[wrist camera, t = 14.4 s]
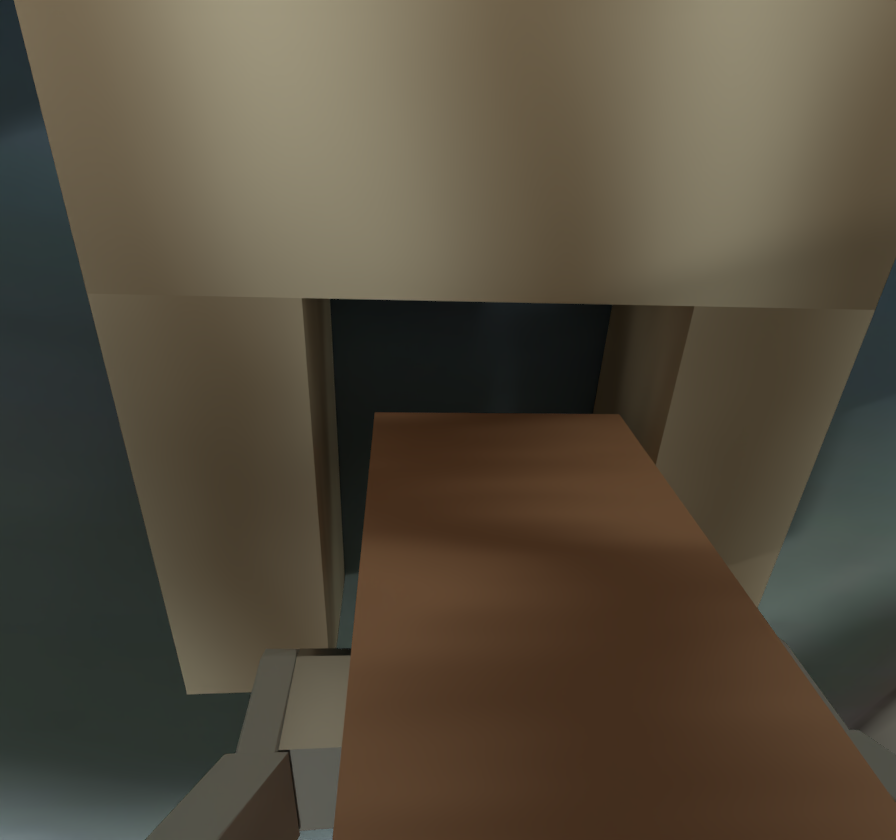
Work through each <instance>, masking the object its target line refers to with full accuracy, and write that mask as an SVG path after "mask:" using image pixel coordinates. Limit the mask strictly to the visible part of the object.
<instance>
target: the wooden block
mask: <svg viewBox="0 0 896 840" xmlns="http://www.w3.org/2000/svg"><path fill="white" fill-rule="evenodd" d="M333 840H896V802H895V801H894V799H893V798H892V797H891V795H890V794H889V792H888V791H887V790H886V788H885V787H884V785H883V784H882V783H881V781H880V780H879V778H878V777H877V776H876V774H875V773H874V771H873V770H872V769H871V767H870V766H869V764H868V763H867V762H866V760H865V759H864V757H863V756H862V755H861V753H860V752H859V750H858V749H857V748H856V746H855V745H854V743H853V742H852V740H851V739H850V738H849V736H848V735H847V733H846V732H845V731H844V729H843V728H842V726H841V725H840V724H839V722H838V721H837V719H836V718H835V717H834V715H833V714H832V712H831V711H830V710H829V708H828V707H827V705H826V704H825V703H824V701H823V700H822V698H821V697H820V696H819V694H818V693H817V691H816V690H815V689H814V687H813V686H812V684H811V683H810V681H809V680H808V679H807V677H806V676H805V674H804V673H803V672H802V670H801V669H800V667H799V666H798V665H797V663H796V662H795V660H794V659H793V658H792V656H791V655H790V653H789V652H788V651H787V649H786V648H785V646H784V645H783V644H782V642H781V641H780V639H779V638H778V637H777V635H776V634H775V632H774V631H773V630H772V628H771V627H770V625H769V624H768V623H767V621H766V620H765V618H764V617H763V615H762V614H761V613H760V611H759V610H758V608H757V607H756V606H755V604H754V603H753V601H752V600H751V599H750V597H749V596H748V594H747V593H746V592H745V590H744V589H743V587H742V586H741V585H740V583H739V582H738V580H737V579H736V578H735V576H734V575H733V573H732V572H731V571H730V569H729V568H728V566H727V565H726V564H725V562H724V561H723V559H722V558H721V556H720V555H719V554H718V552H717V551H716V549H715V548H714V547H713V545H712V544H711V542H710V541H709V540H708V538H707V537H706V535H705V534H704V533H703V531H702V530H701V528H700V527H699V526H698V524H697V523H696V521H695V520H694V519H693V517H692V516H691V514H690V513H689V512H688V510H687V509H686V507H685V506H684V505H683V503H682V502H681V500H680V499H679V497H678V496H677V495H676V493H675V492H674V490H673V489H672V488H671V486H670V485H669V483H668V482H667V481H666V479H665V478H664V476H663V475H662V474H661V472H660V471H659V469H658V468H657V467H656V465H655V464H654V462H653V461H652V460H651V458H650V457H649V455H648V454H647V453H646V451H645V450H644V448H643V447H642V446H641V444H640V443H639V441H638V440H637V438H636V437H635V436H634V434H633V433H632V431H631V430H630V429H629V427H628V426H627V424H626V423H625V422H624V420H623V419H622V417H621V416H620V415H619V414H532V413H402V412H375V415H374V425H373V435H372V445H371V455H370V465H369V475H368V485H367V496H366V506H365V516H364V526H363V536H362V546H361V556H360V566H359V577H358V587H357V597H356V607H355V617H354V627H353V637H352V647H351V658H350V668H349V678H348V688H347V698H346V708H345V718H344V728H343V739H342V749H341V759H340V769H339V779H338V789H337V799H336V809H335V820H334V830H333Z"/></svg>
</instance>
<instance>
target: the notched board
mask: <svg viewBox="0 0 896 840" xmlns="http://www.w3.org/2000/svg"><path fill="white" fill-rule="evenodd" d="M14 3H15V7H16V11H17V15H18V19H19V23H20V27H21V31H22V35H23V39H24V43H25V47H26V51H27V55H28V59H29V63H30V67H31V71H32V75H33V79H34V83H35V87H36V91H37V95H38V99H39V103H40V107H41V111H42V115H43V119H44V123H45V127H46V131H47V135H48V139H49V143H50V147H51V151H52V155H53V159H54V163H55V167H56V171H57V175H58V179H59V183H60V187H61V191H62V195H63V199H64V203H65V207H66V211H67V215H68V219H69V223H70V227H71V231H72V235H73V239H74V243H75V247H76V251H77V255H78V259H79V263H80V267H81V271H82V275H83V279H84V283H85V287H86V291H87V295H88V299H89V303H90V307H91V311H92V315H93V319H94V323H95V327H96V331H97V335H98V339H99V343H100V347H101V351H102V355H103V359H104V363H105V367H106V371H107V375H108V379H109V383H110V387H111V391H112V395H113V399H114V403H115V407H116V411H117V415H118V419H119V423H120V427H121V431H122V435H123V439H124V443H125V447H126V451H127V455H128V459H129V463H130V467H131V471H132V475H133V479H134V483H135V487H136V491H137V495H138V499H139V503H140V507H141V511H142V515H143V519H144V523H145V527H146V531H147V535H148V539H149V543H150V547H151V551H152V555H153V559H154V563H155V567H156V571H157V575H158V579H159V583H160V587H161V591H162V595H163V599H164V603H165V607H166V611H167V615H168V619H169V623H170V627H171V631H172V635H173V639H174V643H175V647H176V651H177V655H178V659H179V663H180V667H181V671H182V675H183V679H184V683H185V687H186V691H187V694H214V693H243V692H252V688H253V685H254V681H255V677H256V673H257V670H258V666H259V662H260V659H261V657H262V655H263V653H264V651H265V650H266V649H300V648H336V647H337V639H338V630H339V622H340V613H341V605H342V597H343V588H344V580H345V571H344V552H343V533H342V514H341V496H340V477H339V458H338V439H337V420H336V401H335V382H334V363H333V345H332V326H331V307H330V299H370V300H418V301H466V302H515V303H563V304H611V305H612V309H611V315H610V320H609V326H608V332H607V337H606V343H605V348H604V354H603V360H602V365H601V371H600V377H599V382H598V388H597V393H596V399H595V405H594V410H593V414H619V415H620V416H621V417H622V419H623V420H624V422H625V423H626V424H627V426H628V427H629V429H630V430H631V431H632V433H633V434H634V436H635V437H636V438H637V440H638V441H639V443H640V444H641V446H642V447H643V448H644V450H645V451H646V453H647V454H648V455H649V457H650V458H651V460H652V461H653V462H654V464H655V465H656V467H657V468H658V469H659V471H660V472H661V474H662V475H663V476H664V478H665V479H666V481H667V482H668V483H669V485H670V486H671V488H672V489H673V490H674V492H675V493H676V495H677V496H678V497H679V499H680V500H681V502H682V503H683V505H684V506H685V507H686V509H687V510H688V512H689V513H690V514H691V516H692V517H693V519H694V520H695V521H696V523H697V524H698V526H699V527H700V528H701V530H702V531H703V533H704V534H705V535H706V537H707V538H708V540H709V541H710V542H711V544H712V545H713V547H714V548H715V549H716V551H717V552H718V554H719V555H720V556H721V558H722V559H723V561H724V562H725V564H726V565H727V566H728V568H729V569H730V571H731V572H732V573H733V575H734V576H735V578H736V579H737V580H738V582H739V583H740V585H741V586H742V587H743V589H744V590H745V592H746V593H747V594H748V596H749V597H750V599H751V600H752V601H753V603H754V604H755V606H756V607H757V608H758V605H759V603H760V600H761V598H762V595H763V593H764V590H765V588H766V585H767V583H768V580H769V577H770V575H771V572H772V570H773V567H774V565H775V562H776V560H777V557H778V555H779V552H780V550H781V547H782V545H783V542H784V539H785V537H786V534H787V532H788V529H789V527H790V524H791V522H792V519H793V517H794V514H795V512H796V509H797V506H798V504H799V501H800V499H801V496H802V494H803V491H804V489H805V486H806V484H807V481H808V479H809V476H810V474H811V471H812V468H813V466H814V463H815V461H816V458H817V456H818V453H819V451H820V448H821V446H822V443H823V441H824V438H825V436H826V433H827V430H828V428H829V425H830V423H831V420H832V418H833V415H834V413H835V410H836V408H837V405H838V403H839V400H840V398H841V395H842V392H843V390H844V387H845V385H846V382H847V380H848V377H849V375H850V372H851V370H852V367H853V365H854V362H855V360H856V357H857V354H858V352H859V349H860V347H861V344H862V342H863V339H864V337H865V334H866V332H867V329H868V327H869V324H870V322H871V319H872V316H873V314H874V311H875V309H876V306H877V304H878V301H879V299H880V296H881V294H882V291H883V289H884V286H885V283H886V281H887V278H888V276H889V273H890V271H891V268H892V266H893V263H894V261H895V258H896V0H14Z"/></svg>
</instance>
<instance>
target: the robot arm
mask: <svg viewBox="0 0 896 840" xmlns="http://www.w3.org/2000/svg"><path fill="white" fill-rule="evenodd" d="M778 638H779V637H778ZM779 639H780V638H779ZM780 641H781V642H782V644H783V645H784V646H785V648H786V649H787V651H788V652H789V653H790V655H791V656H792V658H793V659H794V660H795V662H796V663H797V665H798V666H799V667H800V669H801V670H802V672H803V673H804V674H805V676H806V677H807V679H808V680H809V681H810V683H811V684H812V686H813V687H814V689H815V690H816V691H817V693H818V694H819V696H820V697H821V698H822V700H823V701H824V703H825V704H826V705H827V707H828V708H829V710H830V711H831V712H832V714H833V715H834V717H835V718H836V719H837V721H838V722H839V724H840V725H841V726H842V728H843V729H844V731H845V732H846V733H847V735H848V736H849V738H850V739H851V740H852V742H853V743H854V745H855V746H856V748H857V749H858V750H859V752H860V753H861V755H862V756H863V757H864V759H865V760H866V762H867V763H868V764H869V766H870V767H871V769H872V770H873V771H874V773H875V774H876V776H877V777H878V778H879V780H880V781H881V783H882V784H883V785H884V787H885V788H886V790H887V791H888V792H889V794H890V795H891V797H892V798H893V799H894V801H895V802H896V755H895V754H894V753H892V752H891V751H889V750H888V749H886V748H885V747H884V746H882V745H881V744H879V743H878V742H876V741H875V740H873V739H872V738H870V737H869V736H867V735H866V734H864V733H863V732H861V731H860V730H849V729H848V727H847V726H846V725H845V723H844V722H843V720H842V719H841V718H840V716H839V715H838V714H837V712H836V711H835V709H834V708H833V707H832V705H831V704H830V703H829V701H828V700H827V698H826V697H825V696H824V694H823V693H822V692H821V690H820V689H819V687H818V686H817V685H816V683H815V682H814V681H813V679H812V678H811V677H810V675H809V674H808V672H807V671H806V670H805V668H804V667H803V666H802V664H801V663H800V661H799V660H798V659H797V657H796V656H795V655H794V653H793V652H792V650H791V649H790V648H789V646H788V645H787V644H786V643H785V642H784V641H783V640H781V639H780ZM350 658H351V648H300V649H266V650H265V651H264V653H263V655H262V657H261V659H260V662H259V666H258V670H257V673H256V677H255V681H254V685H253V688H252V692H251V696H250V700H249V703H248V707H247V711H246V715H245V719H244V722H243V726H242V730H241V734H240V737H239V741H238V745H237V749H236V752H235V753H234V754H224V755H223V756H222V757H221V758H220V759H219V761H218V762H217V763H216V764H215V765H214V766H213V767H212V768H211V769H210V770H209V771H208V772H207V773H206V775H205V776H204V777H203V778H202V779H201V780H200V781H199V782H198V783H197V784H196V785H195V786H194V787H193V789H192V790H191V791H190V792H189V793H188V794H187V795H186V796H185V797H184V798H183V799H182V800H181V801H180V803H179V804H178V805H177V806H176V807H175V808H174V809H173V810H172V811H171V812H170V813H169V814H168V815H167V817H166V818H165V819H164V820H163V821H162V822H161V823H160V824H159V825H158V826H157V827H156V828H155V829H154V831H153V832H152V833H151V834H150V835H149V836H148V837H147V838H146V839H145V840H297V839H298V837H299V836H300V833H299V831H304V830H316V829H329V828H334V820H335V809H336V799H337V789H338V779H339V769H340V759H341V749H342V739H343V728H344V718H345V708H346V698H347V688H348V678H349V668H350Z"/></svg>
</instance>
